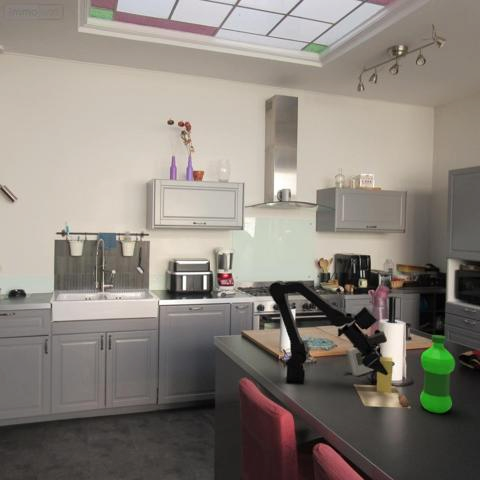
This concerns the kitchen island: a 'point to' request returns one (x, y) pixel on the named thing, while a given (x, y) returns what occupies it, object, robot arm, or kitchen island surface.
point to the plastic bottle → (437, 376)
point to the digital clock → (356, 363)
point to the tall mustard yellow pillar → (385, 376)
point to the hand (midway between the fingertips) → (387, 370)
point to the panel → (378, 396)
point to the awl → (403, 400)
